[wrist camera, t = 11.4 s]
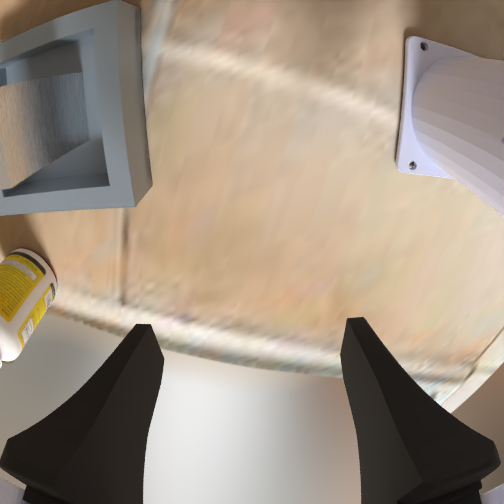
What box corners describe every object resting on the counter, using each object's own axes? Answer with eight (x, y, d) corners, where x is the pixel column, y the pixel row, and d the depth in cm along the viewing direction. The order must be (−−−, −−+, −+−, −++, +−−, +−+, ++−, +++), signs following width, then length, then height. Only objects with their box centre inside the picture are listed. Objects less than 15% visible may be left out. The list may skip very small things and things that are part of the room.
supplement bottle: (1, 249, 20) (-66, 328, 12) (41, 242, 20) (-34, 334, 11) (27, 300, 23) (-25, 382, 15) (69, 299, 23) (16, 394, 14)
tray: (140, 8, 12) (117, -2, 9) (152, 185, 18) (135, 207, 15) (1, 55, 12) (-30, 60, 10) (22, 196, 18) (-3, 216, 15)
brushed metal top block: (82, 72, 13) (-6, 88, 7) (89, 140, 15) (11, 187, 9) (29, 87, 13) (-57, 114, 7) (38, 149, 15) (-40, 197, 9)
